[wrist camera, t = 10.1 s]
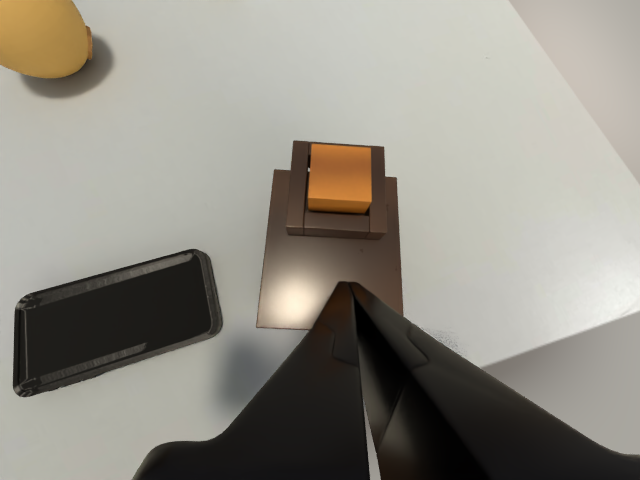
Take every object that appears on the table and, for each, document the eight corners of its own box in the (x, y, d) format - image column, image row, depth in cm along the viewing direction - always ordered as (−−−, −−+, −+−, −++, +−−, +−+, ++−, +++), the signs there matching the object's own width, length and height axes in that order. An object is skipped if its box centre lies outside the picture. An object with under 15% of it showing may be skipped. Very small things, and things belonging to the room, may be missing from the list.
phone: (15, 297, 19) (202, 245, 21) (30, 297, 20) (207, 248, 22) (12, 403, 17) (219, 336, 19) (30, 398, 18) (224, 334, 20)
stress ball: (108, 97, 26) (-9, -23, 17) (12, 102, 26) (-168, -21, 16) (117, 33, 29) (22, -103, 19) (31, 36, 28) (-113, -104, 19)
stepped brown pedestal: (381, 327, 21) (416, 337, 14) (268, 322, 21) (249, 330, 14) (378, 191, 25) (404, 147, 18) (282, 185, 24) (272, 138, 18)
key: (364, 214, 17) (371, 201, 15) (308, 210, 17) (308, 197, 15) (364, 165, 18) (371, 147, 16) (311, 161, 18) (311, 143, 16)
